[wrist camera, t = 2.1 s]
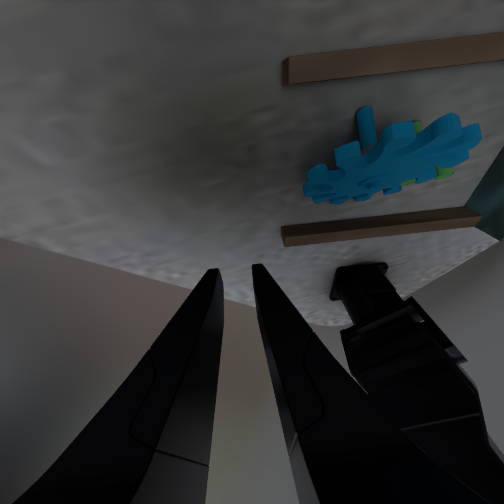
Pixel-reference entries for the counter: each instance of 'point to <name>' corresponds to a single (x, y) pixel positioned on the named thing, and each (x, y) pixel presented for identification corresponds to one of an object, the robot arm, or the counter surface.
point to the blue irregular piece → (392, 158)
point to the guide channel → (389, 61)
